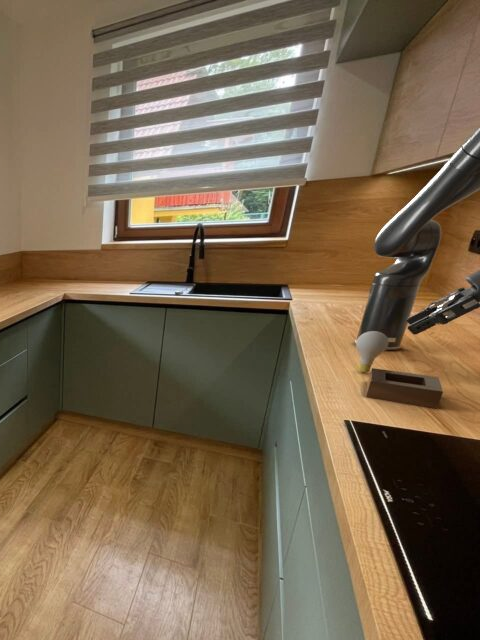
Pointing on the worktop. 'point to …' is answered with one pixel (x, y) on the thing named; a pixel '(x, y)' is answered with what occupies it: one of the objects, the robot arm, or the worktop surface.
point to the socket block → (404, 387)
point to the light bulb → (370, 348)
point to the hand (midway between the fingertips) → (409, 327)
